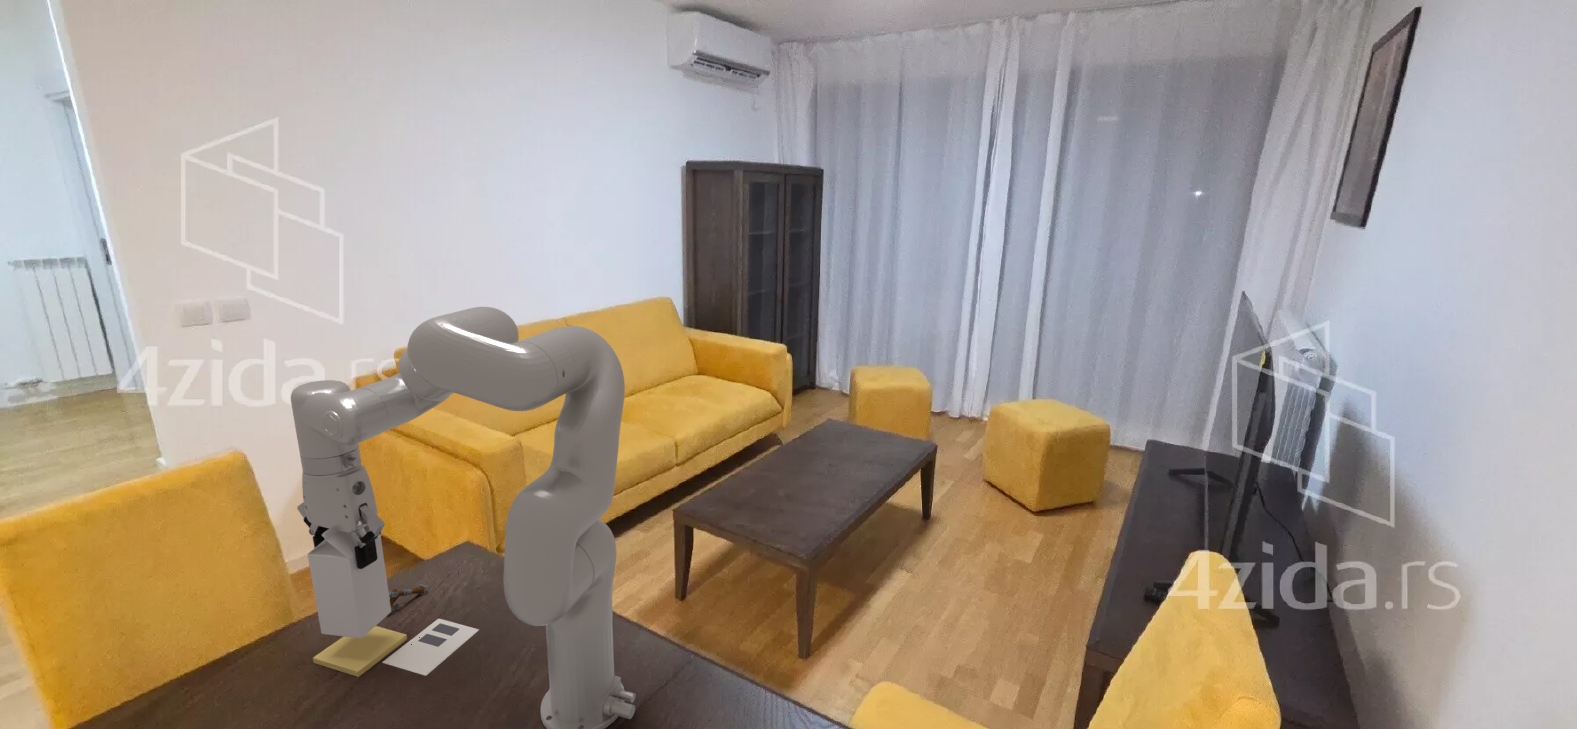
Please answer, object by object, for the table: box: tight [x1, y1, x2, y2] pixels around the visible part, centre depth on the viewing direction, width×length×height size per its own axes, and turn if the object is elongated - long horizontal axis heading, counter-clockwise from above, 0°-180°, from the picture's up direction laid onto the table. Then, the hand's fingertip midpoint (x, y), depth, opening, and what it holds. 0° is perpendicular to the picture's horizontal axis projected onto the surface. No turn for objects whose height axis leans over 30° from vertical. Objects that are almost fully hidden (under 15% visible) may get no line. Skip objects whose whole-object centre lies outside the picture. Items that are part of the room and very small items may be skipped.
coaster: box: [312, 625, 408, 678], centre depth 111 cm, size 10×10×1 cm
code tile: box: [382, 618, 480, 677], centre depth 113 cm, size 9×12×1 cm
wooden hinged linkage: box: [387, 583, 428, 616], centre depth 123 cm, size 2×8×4 cm, turn 160°
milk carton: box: [307, 521, 392, 638], centre depth 107 cm, size 7×7×19 cm
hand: (347, 558), depth 106 cm, fingers closed on milk carton, 8 cm apart
